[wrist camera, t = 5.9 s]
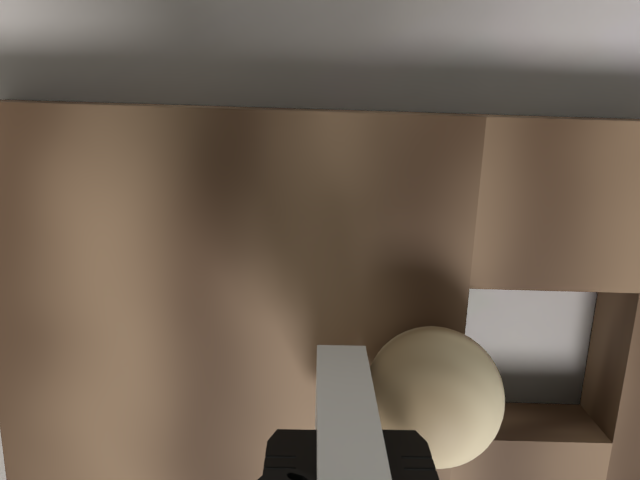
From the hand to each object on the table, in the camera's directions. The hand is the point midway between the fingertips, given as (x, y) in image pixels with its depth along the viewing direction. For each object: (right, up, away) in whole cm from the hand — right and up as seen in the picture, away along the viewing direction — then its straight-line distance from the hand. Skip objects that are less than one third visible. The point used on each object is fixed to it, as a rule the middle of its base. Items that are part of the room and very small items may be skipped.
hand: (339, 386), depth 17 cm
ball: (+3, 0, -1) cm, 3 cm away
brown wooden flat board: (+1, +1, +4) cm, 4 cm away
